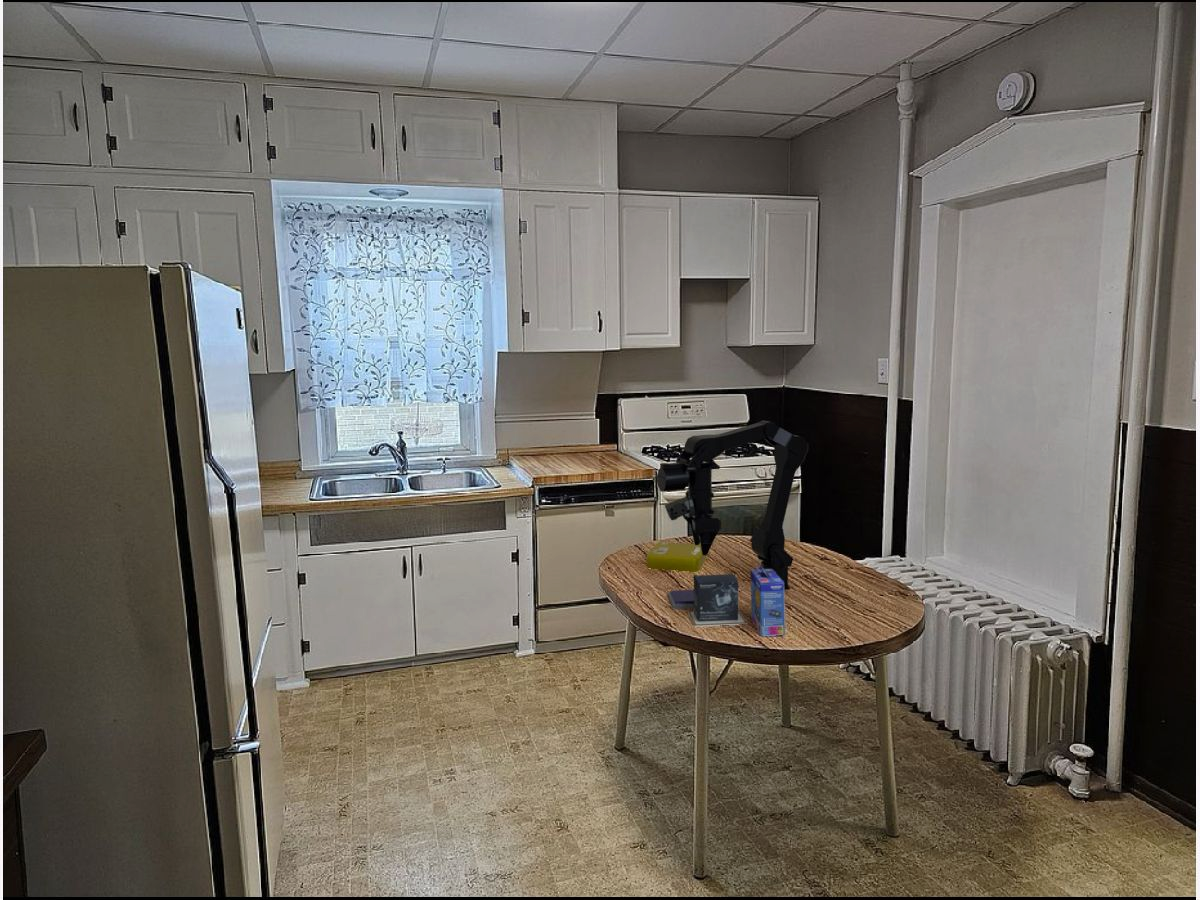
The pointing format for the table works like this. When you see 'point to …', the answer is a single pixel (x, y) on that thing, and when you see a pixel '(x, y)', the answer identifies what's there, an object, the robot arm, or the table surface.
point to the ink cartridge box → (767, 602)
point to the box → (715, 597)
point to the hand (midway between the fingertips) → (700, 549)
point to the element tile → (676, 557)
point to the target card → (716, 623)
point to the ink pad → (682, 599)
